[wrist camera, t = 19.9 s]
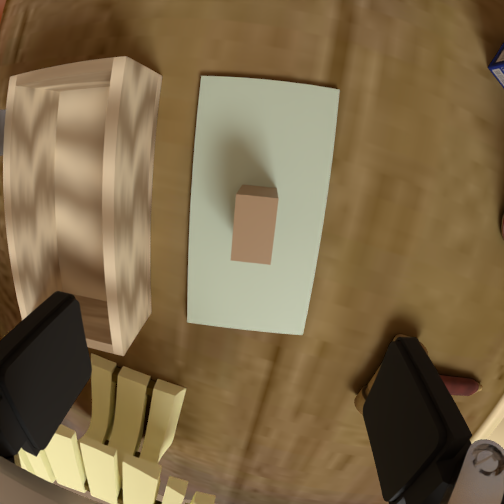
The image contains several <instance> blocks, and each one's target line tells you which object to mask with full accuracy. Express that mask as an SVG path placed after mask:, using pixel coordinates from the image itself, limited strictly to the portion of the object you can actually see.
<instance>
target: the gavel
mask: <svg viewBox="0 0 504 504" xmlns="http://www.w3.org/2000/svg"><path fill="white" fill-rule="evenodd" d="M397 337H410V336H406V335H403V334H399V335H396V336H395V337H394V339H393V341H395V340H396V339H397ZM420 344H421V345H422V347H423V348H424V350H425V352H426V353H427V355H428V351H427V349H426V348H425V346H424V345H423V344H422V343H421V342H420ZM380 367H381V365H380ZM380 367H379V368H378V370H377V371H376V373H375V374H374V376H373V377H372V379H371V380H370V382H369V383H368V386H364V387H363V388H362V389H361V391H360V392H359V394H358V395H357V396H356V398H355V400H354V403H355V406H356V408H357V410H358V411H359V412H360V413H361V414H362V415H363V405H364V403H365V401H366V398H367V396H368V394H369V392H370V390H371V388H372V385H373V383H374V381H375V378H376V376H377V374H378V371H379V369H380ZM440 377H441V379H442V380H443V382H444V384H445V386H446V387H447V389H448V391H449V393H450V394H451V395H464V396H470V395H472V394H474V393H477V392H478V391H481V390H482V388H483V387H482V385H480V384H479V383H478V382H476V381H475V380H474V379H471V378H461V377H452V376H444V375H440Z"/></svg>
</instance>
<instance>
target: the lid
mask: <svg viewBox="0 0 504 504" xmlns="http://www.w3.org/2000/svg"><path fill="white" fill-rule="evenodd" d="M338 101H339V90H338V89H333V88H327V87H321V86H315V85H308V84H301V83H293V82H285V81H276V80H266V79H255V78H241V77H223V76H201V83H200V92H199V102H198V111H197V122H196V133H195V145H194V158H193V172H192V187H191V204H190V225H189V251H188V297H187V322H189V323H196V324H203V325H211V326H219V327H227V328H235V329H244V330H253V331H262V332H273V333H283V334H295V335H303V331H304V326H305V322H306V317H307V312H308V307H309V301H310V296H311V291H312V286H313V280H314V275H315V269H316V264H317V258H318V252H319V246H320V240H321V234H322V228H323V221H324V215H325V208H326V201H327V194H328V187H329V180H330V172H331V165H332V157H333V148H334V140H335V131H336V122H337V112H338Z"/></svg>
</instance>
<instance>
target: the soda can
mask: <svg viewBox="0 0 504 504" xmlns="http://www.w3.org/2000/svg"><path fill="white" fill-rule="evenodd" d="M501 228H502V237H503V240H504V214H503V218H502V226H501Z"/></svg>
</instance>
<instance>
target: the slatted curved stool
mask: <svg viewBox="0 0 504 504" xmlns="http://www.w3.org/2000/svg"><path fill="white" fill-rule="evenodd" d="M116 364H117V363H115V362H112V361H110V360H107V359H105V358H102V357H100V356H98V355H95V354H93V353H91V365H92V373H91V386H92V416H91V423H90V426H89V428H88V430H87V432H86V433H85V435H83V437H82V438H80V439H79V440H78V441H77V437H76V432H75V431H74V430H72V429H70V428H67V427H66V426H64V425H62V424H60V426H59V427H58V429H57V431H56V432H55V434H54V436H53V437H52V439H51V441H50V442H49V444H48V446H47V447H46V448H45V449H44V450H40V452H39V454H38V455H37V457H36V456H34V455H32V454H30V453H28V452H26V451H24V450H23V449H22V447H21V449H20V451H19V452H18V453H19V458H20V463H21V467H22V468H23V469H25V470H27V471H29V472H30V473H32V474H34V475H36V476H38V477H40V478H42V479H44V480H46V481H48V482H51V483H53V482H54V481H55V480H57V482H58V484H61V485H64V486H66V487H69V488H72V489H75V490H77V491H80V492H83V493H85V492H86V491H89V492H91V496H94V497H96V498H99V499H101V500H104V501H106V502H108V503H111V504H182V502H183V500H184V497H185V493H186V489H187V485H188V481H185V480H182V479H178V478H175V477H171V476H169V479H168V482H167V486H166V490H165V493H164V497H163V501H162V502H160V501H157V500H156V498H157V494H158V490H159V486H160V482H161V481H160V473H161V469H162V466H161V465H158V462H159V460H160V458H161V457H162V455H163V454H164V453H165V451H166V450H167V449H168V447H169V446H170V445H171V443H172V441H173V438H174V434H175V431H176V427H177V423H178V419H179V415H180V411H181V407H182V403H183V400H184V396H185V392H186V388H184V387H181V386H178V385H175V384H172V383H169V382H166V381H163V380H160V379H157V382H155V381H152V380H150V377H151V376H149V375H146V374H143V373H140V372H138V371H135V370H132V369H130V368H127V367H125V366H123V367H122V369H120V368H118V367H116ZM115 383H117V397H116V409H115ZM148 395H149V396H152V401H151V407H150V413H149V418H148V424H147V429H146V434H145V439H144V443H143V447H142V450H141V453H139V452H138V450H139V446H140V443H141V439H142V434H143V428H144V420H145V412H146V405H147V398H148ZM214 502H215V495H210V494H206V493H202V492H198V491H196V493H195V495H194V497H193V499H192V501H191V503H190V504H214ZM185 504H188V503H185Z"/></svg>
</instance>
